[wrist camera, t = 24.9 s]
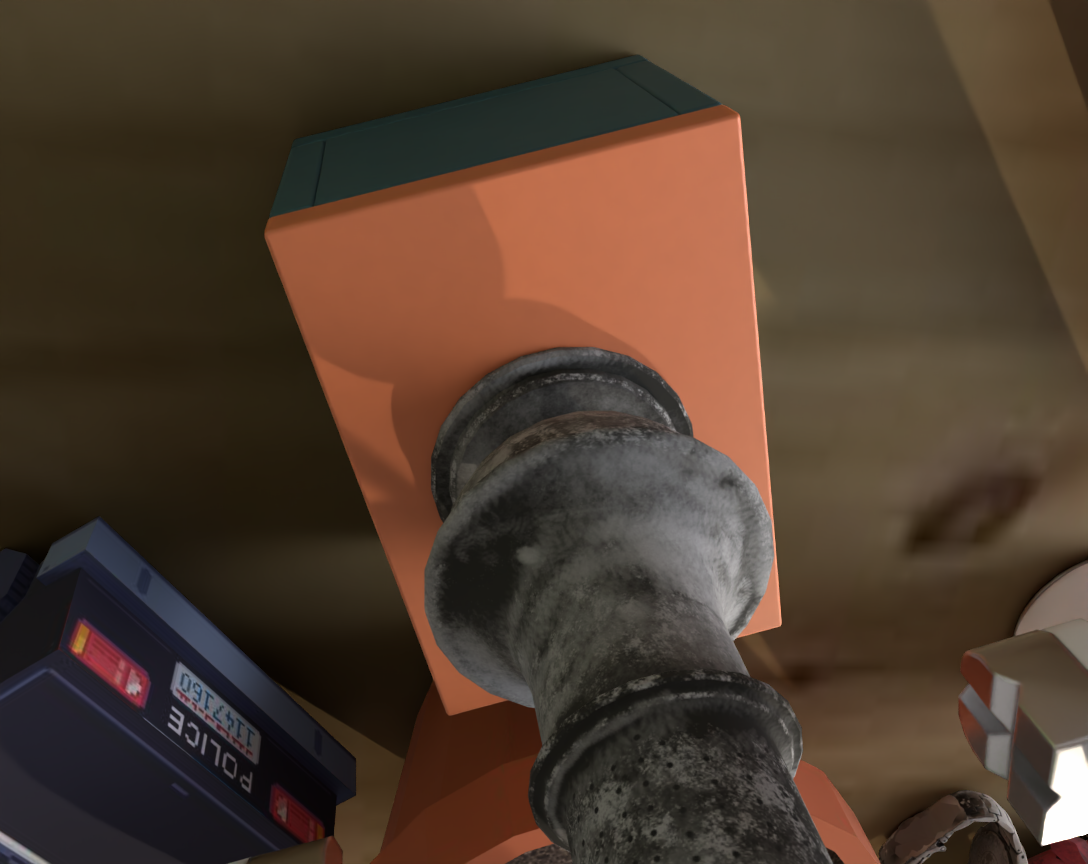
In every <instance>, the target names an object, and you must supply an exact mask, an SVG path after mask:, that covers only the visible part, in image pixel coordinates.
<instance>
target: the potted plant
mask: <svg viewBox="0 0 1088 864" xmlns="http://www.w3.org/2000/svg"><path fill="white" fill-rule="evenodd" d="M541 748H542V741H541V736H540V731H539V726H538V721H537V716H536V711H535V708H531V707H526V706H523V705H521V704H518V703H515V702H512V701H509V700H507V701H503V702H499V703H495V704H492V705H488V706H484V707H481V708H477V709H473V710H470V711H466V712H462V713H459V714H455V715H448V714H447V713H446V711H445V708H444V706H443V703H442V700H441V698H440V695H439V692H438V690H437V687H436V685H435V682H434V680H433V682H432V684H431V686H430V688H429V691H428V693H427V695H426V698H425V700H424V702H423V704H422V707H421V709H420V711H419V713H418V716H417V719H416V723H415V727H414V730H413V734H412V738H411V741H410V745H409V748H408V752H407V756H406V759H405V763H404V767H403V770H402V774H401V778H400V781H399V785H398V789H397V792H396V796H395V800H394V803H393V807H392V811H391V814H390V818H389V822H388V825H387V829H386V833H385V836H384V840H383V844H382V847H381V851H380V854H379V855H378V856H377V857H376V858H375V859H374V860H373V861H372V862H371V863H370V864H573V863H572V858H571V854H570V852H568V851H566V850H565V849H563V848H561V847H559V846H558V845H556V844H554V843H552V842H551V841H550V840H549V838H548V837H547V836H546V835H545V834H544V833H543V832H542V830H541V829H540V828H539V827H538V826H537V825H536V823H535V819H534V816H533V813H532V810H531V807H530V804H529V800H528V789H529V779H530V770H531V768H532V766H533V764H534V762H535V760H536V758H537V756H538V754H539V752H540V750H541ZM793 780H794V782H795V784H796V786H797V788H798V791H799V793H800V795H801V797H802V799H803V801H804V803H805V805H806V807H807V809H808V812H809V814H810V816H811V818H812V820H813V822H814V824H815V826H816V828H817V830H818V832H819V835H820V837H821V839H822V841H823V843H824V845H825V847H826V849H827V851H828V853H829V856H830V858H831V860H832V862H833V864H881V863H880V861H879V859H878V858H877V856H876V854H875V852H874V850H873V848H872V846H871V844H870V842H869V840H868V839H867V837H866V835H865V833H864V831H863V829H862V827H861V825H860V823H859V821H858V820H857V818H856V816H855V814H854V812H853V811H852V810H851V808H850V807H849V806H848V804H847V803H846V802H845V800H844V799H843V798H842V796H841V795H840V793H839V792H838V791H837V789H836V788H835V787H834V785H833V784H832V783H831V781H830V780H829V779H828V777H827V776H826V775H825V773H824V772H823V771H821V770H819V769H817V768H816V767H814V766H812V765H810V764H808V763H806V762H804V761H802V760H800V762H799V765H798V768H797V771H796V774H795V777H794V778H793Z"/></svg>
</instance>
